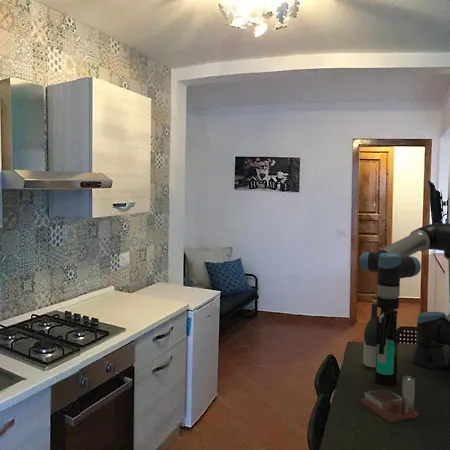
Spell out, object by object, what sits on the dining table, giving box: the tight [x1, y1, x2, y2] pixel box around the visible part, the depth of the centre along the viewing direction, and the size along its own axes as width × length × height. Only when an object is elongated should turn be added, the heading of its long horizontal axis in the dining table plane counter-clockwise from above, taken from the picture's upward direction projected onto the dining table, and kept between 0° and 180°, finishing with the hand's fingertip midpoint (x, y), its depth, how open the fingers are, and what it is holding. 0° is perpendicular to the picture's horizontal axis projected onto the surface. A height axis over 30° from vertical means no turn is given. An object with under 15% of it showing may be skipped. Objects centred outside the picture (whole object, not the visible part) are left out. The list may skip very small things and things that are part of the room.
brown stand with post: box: [360, 375, 420, 423], centre depth 171 cm, size 12×16×14 cm
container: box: [374, 334, 400, 387], centre depth 195 cm, size 9×9×20 cm
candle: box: [376, 342, 395, 375], centre depth 172 cm, size 6×6×12 cm
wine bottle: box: [362, 299, 378, 372], centre depth 210 cm, size 8×8×30 cm
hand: (385, 359), depth 172 cm, fingers closed on candle, 6 cm apart
